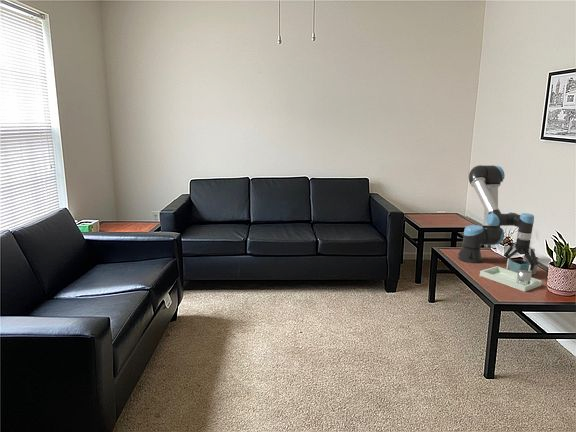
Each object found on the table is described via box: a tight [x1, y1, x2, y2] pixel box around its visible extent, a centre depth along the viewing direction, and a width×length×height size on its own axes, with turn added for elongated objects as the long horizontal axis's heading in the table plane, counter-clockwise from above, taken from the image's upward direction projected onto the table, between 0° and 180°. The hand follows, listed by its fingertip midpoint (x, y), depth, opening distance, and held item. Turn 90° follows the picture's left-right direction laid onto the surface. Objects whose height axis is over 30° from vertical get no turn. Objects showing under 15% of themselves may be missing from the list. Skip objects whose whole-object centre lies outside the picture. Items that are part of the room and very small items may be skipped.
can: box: [516, 270, 533, 286], centre depth 256 cm, size 7×7×8 cm
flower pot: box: [508, 258, 530, 273], centre depth 274 cm, size 9×9×9 cm
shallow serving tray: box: [479, 266, 543, 292], centre depth 263 cm, size 28×18×4 cm, turn 34°
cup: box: [522, 254, 539, 275], centre depth 281 cm, size 8×8×10 cm
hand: (518, 271), depth 274 cm, fingers open, 13 cm apart
